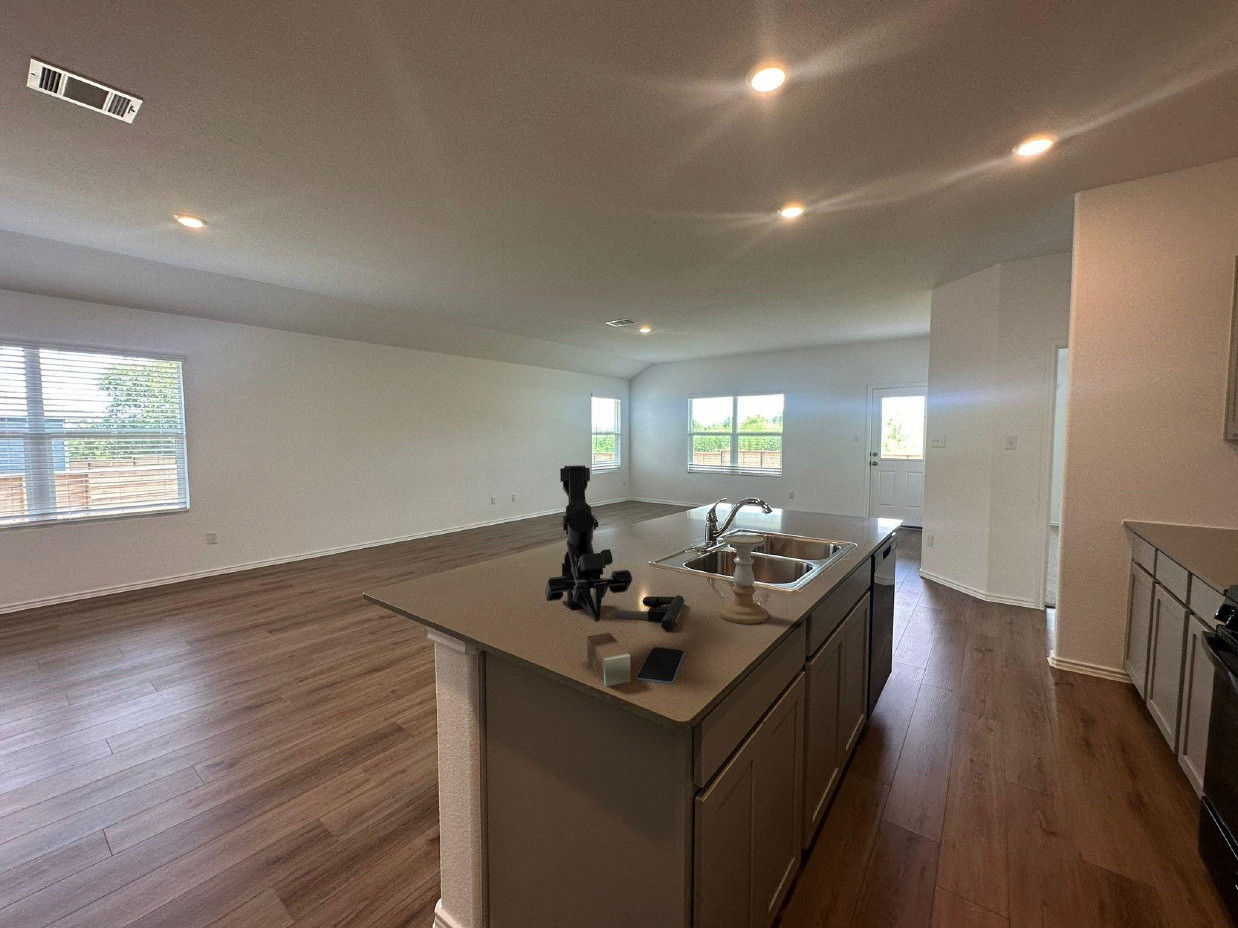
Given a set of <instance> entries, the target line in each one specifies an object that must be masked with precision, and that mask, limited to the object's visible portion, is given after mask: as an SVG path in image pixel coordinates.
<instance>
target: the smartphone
mask: <svg viewBox="0 0 1238 928" xmlns="http://www.w3.org/2000/svg"><path fill="white" fill-rule="evenodd" d="M685 653H686V652H685V651H684V650H682V649H677V648H676V649H675V648H666V647H658V646H657V647H656V646H655V647H652V648H650V651H649V652H648V655H647V656H646V658H645V660H644V661H643V663H642V665H641V667H640V669H639V670H638V672H637V675H635V676H636V678H635V679H637V680H639V681H641V682H642V681H643V682H651V683H657V684H665V685H670V684H673V683H674V682H675V680H676V677H677V675H678V671H679V670H680V667H681V664H682V662H683V659H684V657H685Z"/></svg>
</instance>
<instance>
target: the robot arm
mask: <svg viewBox="0 0 1238 928" xmlns="http://www.w3.org/2000/svg"><path fill="white" fill-rule="evenodd" d="M559 469H560V470H559V474H560V475H559V477H560V479H559V480H560V483H562V490H563V492H564V493H565V494H566V496H567V497H568V499H567V501H568V504H567V506H565V515H563V516H562V531H565V534H566V535H567V540H566V547H567V551H566V553H565V555H564V559H563V560H564V561H563V562H562V563H561V576H554V577H549V578H548V580H547V581H546V586H545V590H544V591H545V592H544V594H545V600H546V601H547V602H553V601H561V600H562V599H563V596H564V592H566V600H563V601H562V605H564V606H566V607H567V608H569V609H570V610H577V609H582V608H583V609H584V610H585V611H586V612H587V614H588V615H589V617H591V619H592V620H593V621H594V622H595V623H598V622H600V619H601V609H602V601H603V598H605V596H606V594H607V592H608V590H609V591H610V592H611V593H612V594H619V593H625V592H627V591H628V590H629V587H630V585H631V583H632V581H633V576H632V573H631V572H630V571H629V570H628V569H621V570H619V569H618V570H612V572H611V575H610V577H601V576H602V575H603V574H604V569H606V567H607V566H610V565H612V564H613V563H614V560H613V559H614V558H613V554H612V551H611V549H602V550H601V551H600V552H595V551H594V548H593V547H594V546H593V543H592V542H593V539H594V531H595V530H597V528H599V521H598V519H596V517H595V515H594V514H592V513H593V512H592V506H591V505H589V504H588V503H587V501H586V490H587V488H588V485H589V484H588V483H589V482H590V481H591V467H586V465H564V467H562V468H559Z"/></svg>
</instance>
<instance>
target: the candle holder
mask: <svg viewBox="0 0 1238 928" xmlns="http://www.w3.org/2000/svg"><path fill="white" fill-rule="evenodd" d="M722 540H723V541H722V542H723V543H725V544H726V545H730V546H732V547H733V549H734V550H735V551H736V557H735V558H734V559H733V562H734V563H735V569H734V573H733V576H732V581H733V583H734V586H732V588H731V590H732V592H733V594H734V598H733V600H732V601H728V602H726V604H724V605H722V606H720V607H719V611H718V613H719V616H720V617H721V618H722V619H723V620H726V621H729V622H732V623H736V624H742V625H754V624H760V623H764V622H765V621H767V620H768V618H769V612H768V610H767V609H766V608H764V607H763V606H761V605H760V604H759V603H757V602H754V597H753V595H754V594H755V593H756V588H755V587H754V586H753V585H754V583H755V582H756V580H755V579H756V578H755V576H754V572H753V568H752V564H754V562H755V561H754V559H753V558H752V556H751V554H752V551H754V550H755V547H760V546H763V545H764V544H765V543H766V540H765V538H763V537H761V536H758V535H752V534H729V535H726V536H724V537H723V538H722ZM763 621H764V622H763Z"/></svg>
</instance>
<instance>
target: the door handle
mask: <svg viewBox="0 0 1238 928" xmlns="http://www.w3.org/2000/svg"><path fill="white" fill-rule="evenodd" d="M642 604H643V606H646V607H648V606H649V607H650V608H649V609H648V610H647V611H646V610H643V611H642V610H619V612H618V618H619V619H628V620H638V621H639V620H640V621H648V622H653V623H660V627H661V628H662V629H663V630H664V631H670V630H671V629H673V628H674V626H675V625H678V620H679V617H680V615H681V613H682V608H683V606H685V605H688V604H687V603H686V604H685V599H684V597H683V596H682V595H675V596H653V595H652V596H651V595H649V596H644V597H643V599H642ZM659 607H660V608H659Z"/></svg>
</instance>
